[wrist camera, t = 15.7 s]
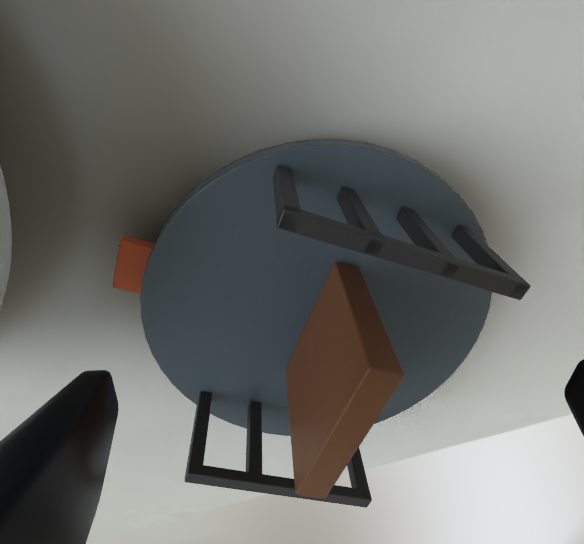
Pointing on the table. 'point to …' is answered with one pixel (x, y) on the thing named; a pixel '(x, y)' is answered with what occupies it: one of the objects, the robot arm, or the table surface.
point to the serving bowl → (4, 238)
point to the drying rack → (312, 303)
